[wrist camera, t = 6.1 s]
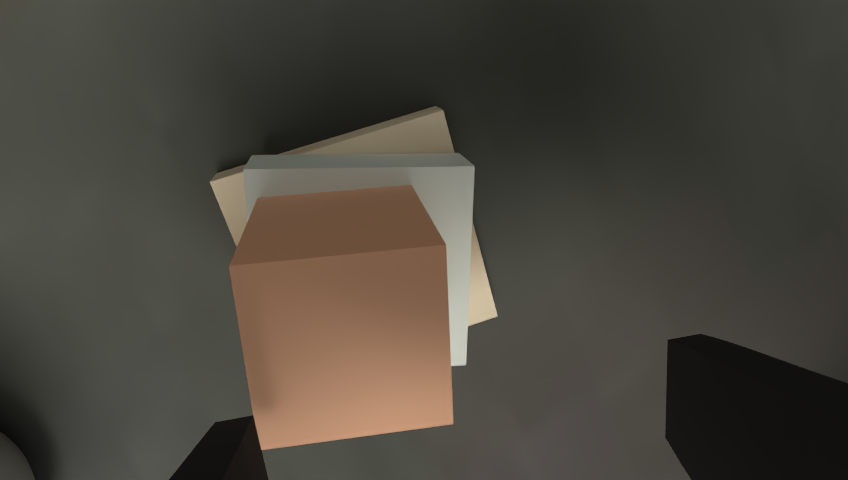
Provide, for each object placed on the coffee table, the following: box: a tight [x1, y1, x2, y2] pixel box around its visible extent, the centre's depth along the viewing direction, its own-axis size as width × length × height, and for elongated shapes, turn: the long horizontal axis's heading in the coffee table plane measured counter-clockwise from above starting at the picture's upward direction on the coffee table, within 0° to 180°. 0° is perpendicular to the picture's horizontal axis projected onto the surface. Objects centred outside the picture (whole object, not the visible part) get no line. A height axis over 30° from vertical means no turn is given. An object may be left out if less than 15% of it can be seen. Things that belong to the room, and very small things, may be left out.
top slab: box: [243, 153, 475, 366], centre depth 18 cm, size 6×6×2 cm
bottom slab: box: [210, 106, 497, 326], centre depth 20 cm, size 7×7×2 cm
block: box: [229, 185, 453, 450], centre depth 14 cm, size 4×4×5 cm
